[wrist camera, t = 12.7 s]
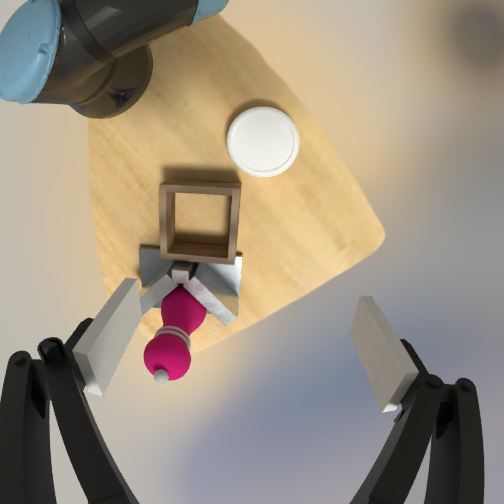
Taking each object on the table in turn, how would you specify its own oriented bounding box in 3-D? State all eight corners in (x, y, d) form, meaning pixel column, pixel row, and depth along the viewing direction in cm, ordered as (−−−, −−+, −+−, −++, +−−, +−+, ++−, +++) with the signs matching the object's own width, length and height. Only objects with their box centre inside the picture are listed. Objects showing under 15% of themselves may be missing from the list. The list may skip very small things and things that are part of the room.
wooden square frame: (169, 179, 41) (159, 184, 37) (241, 183, 42) (240, 189, 37) (169, 246, 45) (160, 258, 41) (236, 251, 46) (234, 265, 41)
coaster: (288, 181, 42) (291, 184, 38) (222, 167, 41) (219, 170, 38) (302, 117, 38) (307, 115, 35) (235, 102, 37) (234, 99, 34)
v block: (146, 302, 50) (133, 325, 43) (141, 245, 45) (124, 264, 39) (237, 312, 50) (236, 337, 44) (242, 254, 46) (240, 274, 39)
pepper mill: (166, 306, 48) (130, 390, 30) (171, 270, 46) (129, 352, 27) (205, 316, 49) (186, 406, 31) (213, 281, 46) (194, 369, 28)
